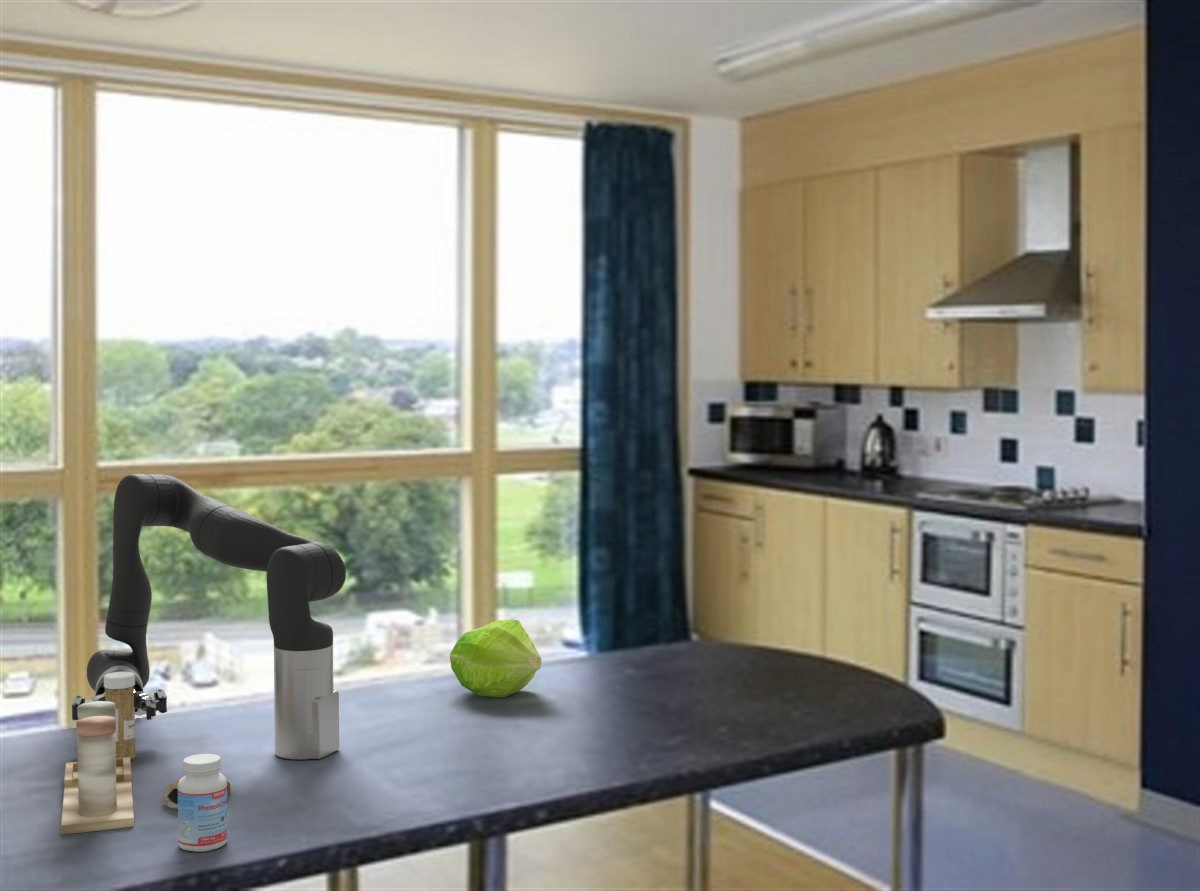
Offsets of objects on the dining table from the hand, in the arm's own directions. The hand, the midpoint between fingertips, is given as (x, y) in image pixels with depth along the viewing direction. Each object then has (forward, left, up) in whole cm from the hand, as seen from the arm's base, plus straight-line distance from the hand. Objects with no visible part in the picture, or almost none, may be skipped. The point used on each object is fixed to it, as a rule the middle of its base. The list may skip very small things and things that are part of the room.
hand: (120, 715), depth 206 cm
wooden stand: (-10, +17, -7) cm, 21 cm away
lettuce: (-38, -58, -7) cm, 70 cm away
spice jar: (+1, -1, -7) cm, 7 cm away
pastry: (-23, +13, -8) cm, 27 cm away
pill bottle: (-34, +26, -7) cm, 44 cm away
